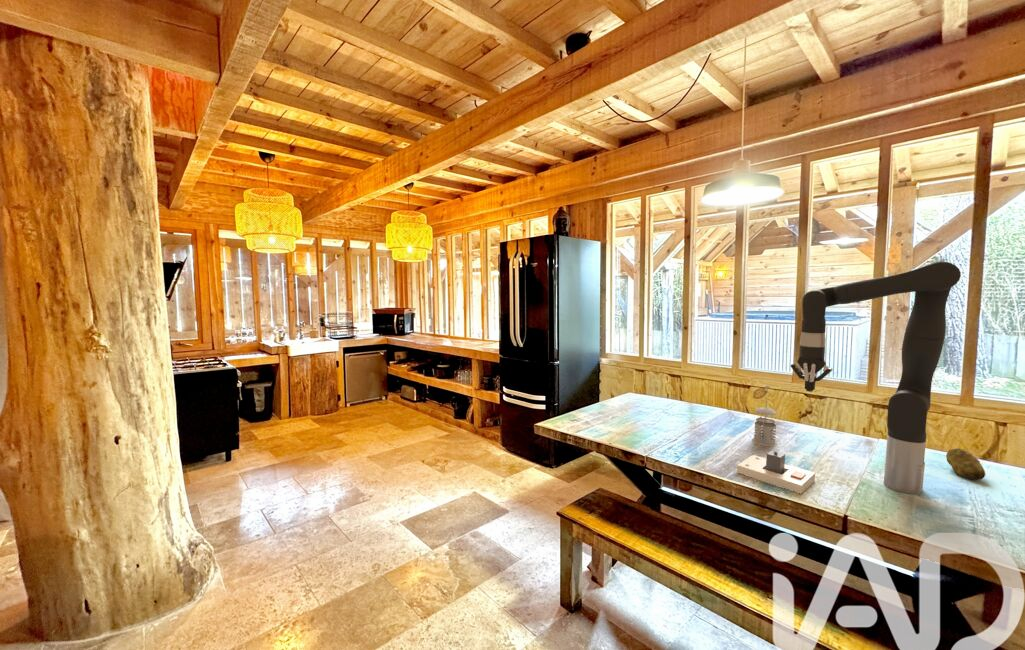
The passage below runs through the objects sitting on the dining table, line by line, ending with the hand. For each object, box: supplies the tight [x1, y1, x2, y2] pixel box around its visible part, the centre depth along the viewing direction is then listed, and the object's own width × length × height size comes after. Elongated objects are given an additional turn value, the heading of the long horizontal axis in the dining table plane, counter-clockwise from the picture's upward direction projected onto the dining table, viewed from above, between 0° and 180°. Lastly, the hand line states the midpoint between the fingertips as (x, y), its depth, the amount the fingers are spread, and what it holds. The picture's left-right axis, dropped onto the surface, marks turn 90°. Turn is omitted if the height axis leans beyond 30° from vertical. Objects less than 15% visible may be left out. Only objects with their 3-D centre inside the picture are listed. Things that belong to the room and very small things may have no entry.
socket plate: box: [736, 454, 816, 495], centre depth 146 cm, size 20×14×4 cm
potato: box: [945, 448, 986, 481], centre depth 147 cm, size 8×13×8 cm, turn 143°
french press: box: [751, 385, 779, 448], centre depth 176 cm, size 10×12×25 cm
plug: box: [765, 450, 786, 475], centre depth 146 cm, size 4×4×9 cm
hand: (809, 391), depth 151 cm, fingers closed
